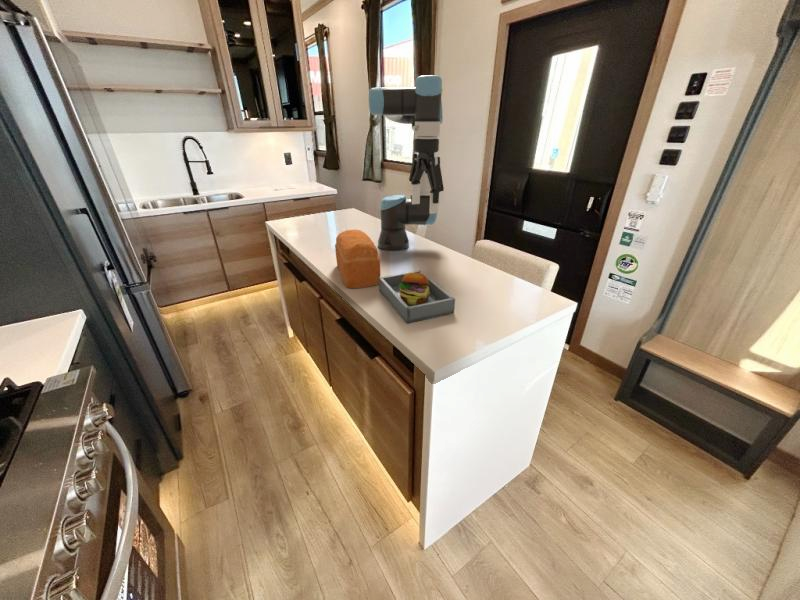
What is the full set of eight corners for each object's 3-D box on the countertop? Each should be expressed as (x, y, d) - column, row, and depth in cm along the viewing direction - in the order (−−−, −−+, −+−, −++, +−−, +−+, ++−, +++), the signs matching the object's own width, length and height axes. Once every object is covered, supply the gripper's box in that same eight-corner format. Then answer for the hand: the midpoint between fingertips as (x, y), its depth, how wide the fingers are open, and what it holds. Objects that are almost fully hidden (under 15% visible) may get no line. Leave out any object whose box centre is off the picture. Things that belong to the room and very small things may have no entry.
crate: (379, 290, 113) (378, 277, 111) (419, 282, 118) (420, 270, 116) (406, 323, 93) (406, 309, 91) (453, 313, 99) (455, 298, 97)
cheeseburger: (395, 305, 101) (396, 273, 99) (401, 297, 111) (402, 269, 109) (426, 307, 99) (428, 276, 97) (430, 299, 109) (432, 270, 107)
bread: (345, 290, 113) (341, 247, 106) (335, 264, 135) (332, 227, 128) (383, 285, 117) (381, 243, 109) (367, 260, 139) (365, 224, 131)
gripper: (399, 135, 106) (399, 201, 116) (435, 140, 86) (431, 219, 96) (420, 135, 108) (418, 199, 119) (459, 139, 88) (452, 216, 99)
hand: (424, 208), depth 108 cm, fingers open, 13 cm apart
